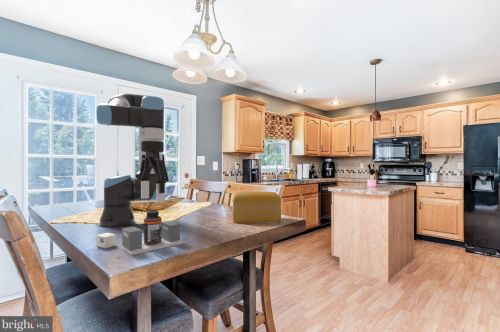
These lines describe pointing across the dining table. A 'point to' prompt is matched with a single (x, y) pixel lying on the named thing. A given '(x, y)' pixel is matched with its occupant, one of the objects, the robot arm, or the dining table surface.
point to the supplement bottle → (152, 228)
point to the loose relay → (106, 240)
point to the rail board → (135, 244)
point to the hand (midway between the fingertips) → (152, 200)
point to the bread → (256, 207)
